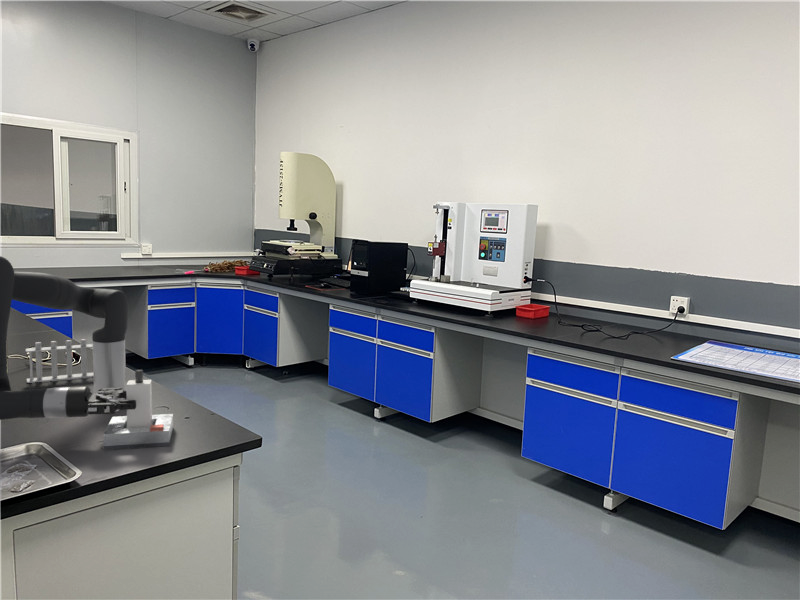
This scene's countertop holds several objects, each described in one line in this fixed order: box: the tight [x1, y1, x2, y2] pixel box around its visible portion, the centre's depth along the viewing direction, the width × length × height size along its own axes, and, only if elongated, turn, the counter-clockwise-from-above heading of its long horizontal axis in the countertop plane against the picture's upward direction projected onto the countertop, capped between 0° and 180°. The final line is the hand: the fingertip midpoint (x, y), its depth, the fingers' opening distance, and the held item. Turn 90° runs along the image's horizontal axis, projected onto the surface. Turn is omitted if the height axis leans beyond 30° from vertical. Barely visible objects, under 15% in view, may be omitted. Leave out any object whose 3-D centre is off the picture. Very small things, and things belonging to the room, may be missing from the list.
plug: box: [126, 369, 153, 428], centre depth 152 cm, size 4×6×17 cm
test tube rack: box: [25, 338, 93, 384], centre depth 202 cm, size 25×4×13 cm, turn 123°
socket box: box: [102, 413, 174, 451], centre depth 153 cm, size 13×15×5 cm
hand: (138, 399), depth 152 cm, fingers open, 8 cm apart
